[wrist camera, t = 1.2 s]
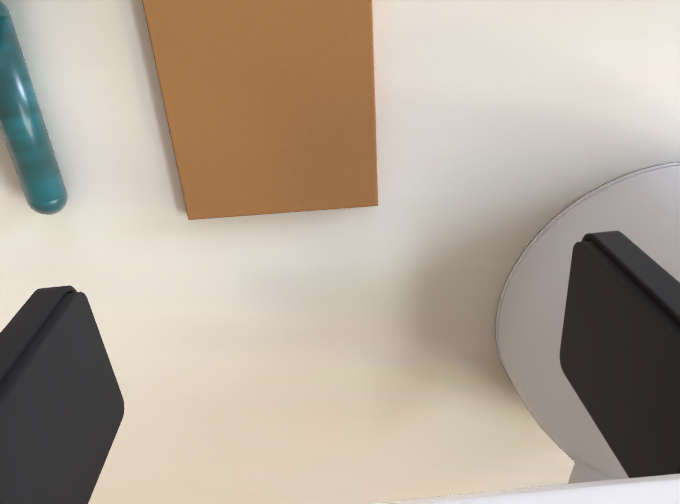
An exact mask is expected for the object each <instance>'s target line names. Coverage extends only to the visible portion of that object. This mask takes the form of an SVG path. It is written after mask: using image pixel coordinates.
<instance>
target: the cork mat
mask: <svg viewBox="0 0 680 504" xmlns="http://www.w3.org/2000/svg"><path fill="white" fill-rule="evenodd" d="M142 1H143V6H144V11H145V15H146V20H147V25H148V30H149V34H150V39H151V44H152V49H153V53H154V58H155V63H156V68H157V72H158V77H159V82H160V87H161V91H162V96H163V101H164V106H165V110H166V115H167V120H168V125H169V129H170V134H171V139H172V144H173V148H174V153H175V158H176V163H177V167H178V172H179V177H180V181H181V186H182V191H183V196H184V200H185V205H186V210H187V215H188V219H189V220H193V219H206V218H220V217H233V216H246V215H260V214H273V213H286V212H299V211H313V210H326V209H339V208H353V207H366V206H378V188H377V154H376V120H375V86H374V53H373V19H372V0H142Z"/></svg>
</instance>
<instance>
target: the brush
mask: <svg viewBox="0 0 680 504" xmlns="http://www.w3.org/2000/svg"><path fill="white" fill-rule="evenodd" d="M0 128H1V130H2V133H3V136H4V139H5V142H6V144H7V147H8V150H9V153H10V156H11V158H12V161H13V164H14V167H15V170H16V172H17V175H18V178H19V181H20V183H21V186H22V189H23V192H24V195H25V197H26V200H27V202H28V204H29V206H30V207H31V208H32V209H33V210H34V211H36V212H38V213H41V214H47V215H49V214H54V213H57V212H59V211H60V210H61V209H62V208H63V207H64V206H65V204H66V201H67V192H66V189H65V186H64V183H63V180H62V177H61V174H60V170H59V167H58V164H57V161H56V158H55V155H54V152H53V148H52V145H51V142H50V139H49V136H48V133H47V130H46V127H45V123H44V120H43V117H42V114H41V111H40V108H39V105H38V101H37V98H36V95H35V92H34V89H33V86H32V83H31V79H30V76H29V73H28V70H27V67H26V64H25V61H24V58H23V54H22V51H21V48H20V45H19V42H18V39H17V36H16V32H15V29H14V26H13V23H12V20H11V17H10V14H9V12H8V10H7V8H6V6H5V5H4V4H3V3H2V2H1V1H0Z"/></svg>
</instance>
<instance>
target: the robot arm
mask: <svg viewBox="0 0 680 504" xmlns="http://www.w3.org/2000/svg"><path fill="white" fill-rule="evenodd" d="M559 358H560V365H561V368H562V371H563V373H564V375H565V376H566V378H567V379H568V381H569V383H570V384H571V386H572V387H573V389H574V391H575V392H576V394H577V395H578V397H579V399H580V400H581V402H582V403H583V405H584V407H585V408H586V410H587V411H588V413H589V415H590V416H591V418H592V419H593V421H594V423H595V424H596V426H597V427H598V429H599V431H600V432H601V434H602V435H603V437H604V439H605V440H606V442H607V444H608V445H609V447H610V448H611V450H612V452H613V453H614V455H615V456H616V458H617V460H618V461H619V463H620V464H621V466H622V468H623V469H624V471H625V472H626V474H627V476H628V477H629V478H626V479H614V480H603V481H592V482H582V483H572V484H562V485H551V486H541V487H531V488H521V489H511V490H500V491H490V492H480V493H470V494H459V495H449V496H439V497H429V498H420V499H410V500H400V501H390V502H381V503H371V504H680V282H678V281H677V280H676V279H675V278H674V277H673V276H672V275H670V274H669V273H668V272H667V271H666V270H665V269H663V268H662V267H661V266H660V265H659V264H658V263H656V262H655V261H654V260H653V259H652V258H651V257H649V256H648V255H647V254H646V253H645V252H644V251H642V250H641V249H640V248H639V247H638V246H637V245H635V244H634V243H633V242H632V241H631V240H630V239H628V238H627V237H626V236H625V235H624V234H623V233H621V232H620V231H607V232H597V233H587V234H585V235H584V237H583V238H582V241H581V242H576V243H575V244H574V246H573V251H572V259H571V267H570V274H569V282H568V290H567V298H566V306H565V314H564V322H563V330H562V337H561V345H560V354H559ZM123 415H124V401H123V397H122V394H121V391H120V389H119V386H118V383H117V380H116V377H115V375H114V372H113V369H112V366H111V363H110V361H109V358H108V355H107V352H106V349H105V347H104V344H103V341H102V338H101V335H100V333H99V330H98V327H97V324H96V321H95V319H94V316H93V313H92V310H91V308H90V305H89V302H88V299H87V297H86V295H85V294H84V293H82V292H77V291H76V290H75V289H74V288H73V287H72V286H61V287H51V288H41V289H37V290H36V291H35V292H34V293H33V294H32V296H31V297H30V298H29V299H28V300H27V302H26V303H25V304H24V305H23V306H22V308H21V309H20V310H19V311H18V312H17V314H16V315H15V316H14V317H13V318H12V320H11V321H10V322H9V323H8V324H7V326H6V327H5V328H4V329H3V331H2V332H1V333H0V504H88V502H89V500H90V497H91V495H92V492H93V490H94V487H95V485H96V483H97V480H98V478H99V475H100V473H101V470H102V468H103V465H104V463H105V460H106V458H107V455H108V453H109V450H110V448H111V446H112V443H113V441H114V438H115V436H116V433H117V431H118V428H119V426H120V423H121V421H122V418H123Z"/></svg>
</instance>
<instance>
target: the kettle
mask: <svg viewBox="0 0 680 504" xmlns="http://www.w3.org/2000/svg"><path fill="white" fill-rule="evenodd" d="M607 231H620V232H621V233H623V234H624V235H625V236H626V237H627V238H628V239H630V240H631V241H632V242H633V243H634V244H635V245H637V246H638V247H639V248H640V249H641V250H642V251H644V252H645V253H646V254H647V255H648V256H649V257H651V258H652V259H653V260H654V261H655V262H656V263H658V264H659V265H660V266H661V267H662V268H663V269H665V270H666V271H667V272H668V273H669V274H670V275H672V276H673V277H674V278H675V279H676V280H677V281H678V282H680V162H676V163H669V164H663V165H658V166H654V167H650V168H646V169H642V170H639V171H636V172H633V173H630V174H627V175H625V176H622V177H620V178H617V179H615V180H613V181H611V182H608V183H606V184H604V185H602V186H600V187H598V188H597V189H595V190H593V191H591V192H590V193H588V194H586V195H585V196H583V197H581V198H580V199H578V200H577V201H576V202H574V203H573V204H571V205H570V206H569V207H567V208H566V209H565V210H563V211H562V212H561V213H560V214H558V215H557V216H556V217H555V218H554V219H553V220H551V221H550V222H549V223H548V224H547V225H546V226H545V227H544V228H543V229H542V230H541V231H540V232H539V233H538V235H537V236H536V237H535V238H534V239H533V240H532V241H531V243H530V244H529V245H528V246H527V248H526V249H525V250H524V252H523V253H522V255H521V256H520V257H519V259H518V261H517V262H516V264H515V265H514V267H513V269H512V271H511V273H510V275H509V277H508V279H507V281H506V283H505V286H504V288H503V291H502V294H501V297H500V301H499V304H498V309H497V315H496V327H495V331H496V343H497V349H498V353H499V357H500V359H501V362H502V365H503V367H504V369H505V371H506V373H507V375H508V377H509V378H510V380H511V381H512V383H513V384H514V386H515V388H516V390H517V392H518V394H519V396H520V397H521V399H522V401H523V402H524V404H525V406H526V407H527V409H528V410H529V412H530V413H531V415H532V416H533V418H534V419H535V420H536V422H537V423H538V424H539V426H540V427H541V428H542V429H543V430H544V432H545V433H546V434H547V435H548V436H549V437H550V438H551V439H552V440H553V441H554V442H555V443H556V444H557V445H558V446H559V447H560V448H561V449H562V450H563V451H564V452H565V453H566V454H567V455H568V456H569V457H570V458H571V459H572V460H573V461H574V463H575V465H574V467H573V470H572V473H571V476H570V479H569V482H568V484H572V483H582V482H592V481H603V480H614V479H626V478H629V477H628V476H627V474H626V472H625V471H624V469H623V468H622V466H621V464H620V463H619V461H618V460H617V458H616V456H615V455H614V453H613V452H612V450H611V448H610V447H609V445H608V444H607V442H606V440H605V439H604V437H603V435H602V434H601V432H600V431H599V429H598V427H597V426H596V424H595V423H594V421H593V419H592V418H591V416H590V415H589V413H588V411H587V410H586V408H585V407H584V405H583V403H582V402H581V400H580V399H579V397H578V395H577V394H576V392H575V391H574V389H573V387H572V386H571V384H570V383H569V381H568V379H567V378H566V376H565V375H564V373H563V371H562V368H561V365H560V358H559V354H560V345H561V337H562V330H563V322H564V314H565V306H566V298H567V290H568V282H569V274H570V267H571V259H572V251H573V246H574V244H575V243H576V242H581V241H582V238H583V237H584V235H585V234H587V233H597V232H607Z"/></svg>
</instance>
